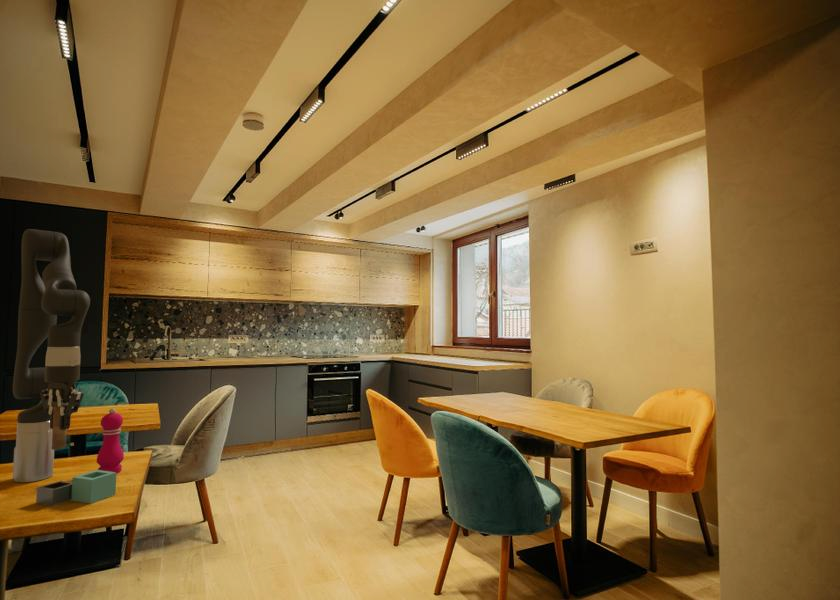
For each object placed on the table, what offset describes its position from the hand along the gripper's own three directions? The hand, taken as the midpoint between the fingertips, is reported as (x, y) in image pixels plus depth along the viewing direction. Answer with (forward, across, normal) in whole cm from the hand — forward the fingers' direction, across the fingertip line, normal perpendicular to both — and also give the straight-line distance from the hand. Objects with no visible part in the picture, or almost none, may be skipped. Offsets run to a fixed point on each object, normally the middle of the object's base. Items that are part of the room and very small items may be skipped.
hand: (59, 428), depth 127 cm
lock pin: (+5, 0, 0) cm, 5 cm away
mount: (+19, 0, 0) cm, 19 cm away
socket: (+19, +7, +5) cm, 21 cm away
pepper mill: (+19, -10, +23) cm, 31 cm away
